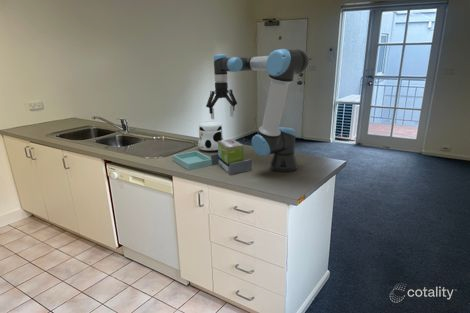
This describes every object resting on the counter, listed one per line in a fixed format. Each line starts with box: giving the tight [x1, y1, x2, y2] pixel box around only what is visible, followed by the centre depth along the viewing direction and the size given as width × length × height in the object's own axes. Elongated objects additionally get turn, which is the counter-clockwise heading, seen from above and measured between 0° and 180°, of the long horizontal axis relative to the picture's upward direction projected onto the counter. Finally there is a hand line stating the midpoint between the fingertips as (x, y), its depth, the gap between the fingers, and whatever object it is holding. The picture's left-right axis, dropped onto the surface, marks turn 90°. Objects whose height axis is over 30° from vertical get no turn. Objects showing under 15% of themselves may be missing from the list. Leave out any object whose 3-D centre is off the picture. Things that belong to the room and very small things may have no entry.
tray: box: [172, 150, 213, 171], centre depth 192 cm, size 21×16×4 cm
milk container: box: [197, 121, 224, 153], centre depth 217 cm, size 17×17×18 cm
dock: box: [210, 153, 253, 176], centre depth 184 cm, size 21×14×6 cm, turn 34°
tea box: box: [217, 138, 244, 173], centre depth 182 cm, size 15×10×15 cm
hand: (222, 117), depth 195 cm, fingers open, 13 cm apart
